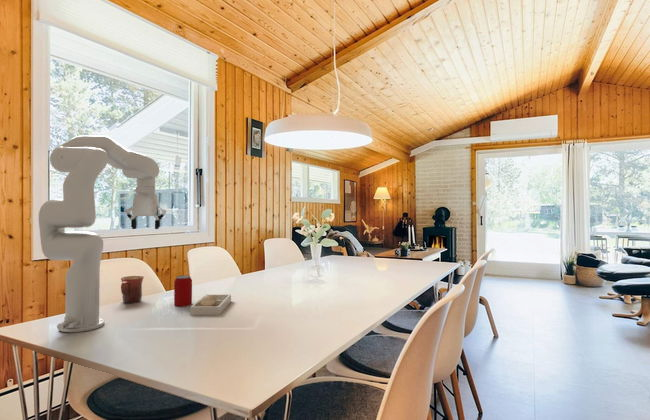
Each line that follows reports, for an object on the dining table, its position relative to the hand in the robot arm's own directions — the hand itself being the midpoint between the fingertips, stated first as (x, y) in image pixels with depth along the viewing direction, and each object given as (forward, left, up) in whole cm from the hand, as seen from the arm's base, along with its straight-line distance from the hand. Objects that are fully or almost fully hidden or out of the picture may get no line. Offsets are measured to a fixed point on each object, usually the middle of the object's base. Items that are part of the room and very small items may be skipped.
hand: (145, 228), depth 169 cm
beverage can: (-17, -23, -31) cm, 42 cm away
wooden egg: (-27, -36, -30) cm, 54 cm away
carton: (-22, -36, -30) cm, 52 cm away
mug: (-11, +1, -31) cm, 33 cm away
